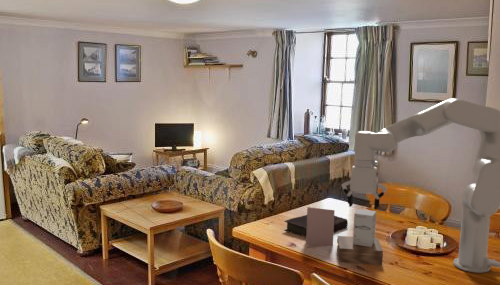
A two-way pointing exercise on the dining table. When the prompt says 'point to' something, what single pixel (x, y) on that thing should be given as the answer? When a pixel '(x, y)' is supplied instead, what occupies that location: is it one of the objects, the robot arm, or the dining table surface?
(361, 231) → the supplement box
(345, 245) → the walnut box
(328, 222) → the greeting card
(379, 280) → the dining table surface
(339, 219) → the diary
